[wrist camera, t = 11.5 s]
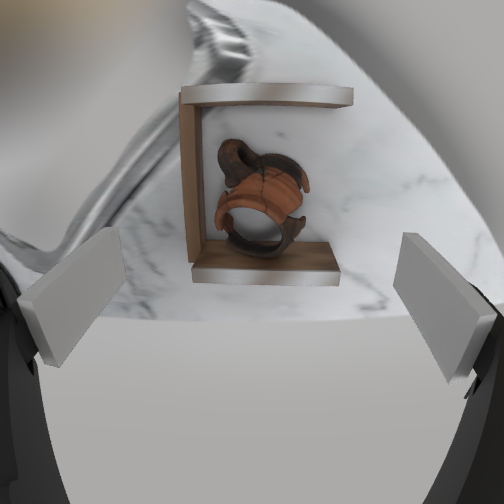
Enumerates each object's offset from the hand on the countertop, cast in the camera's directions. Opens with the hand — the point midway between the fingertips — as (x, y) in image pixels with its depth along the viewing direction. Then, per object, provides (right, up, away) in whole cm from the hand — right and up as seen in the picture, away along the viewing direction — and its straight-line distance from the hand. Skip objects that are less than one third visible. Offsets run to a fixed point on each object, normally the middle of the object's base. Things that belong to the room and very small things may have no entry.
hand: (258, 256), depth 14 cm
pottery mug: (+1, +9, +19) cm, 22 cm away
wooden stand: (+1, +8, +19) cm, 21 cm away
